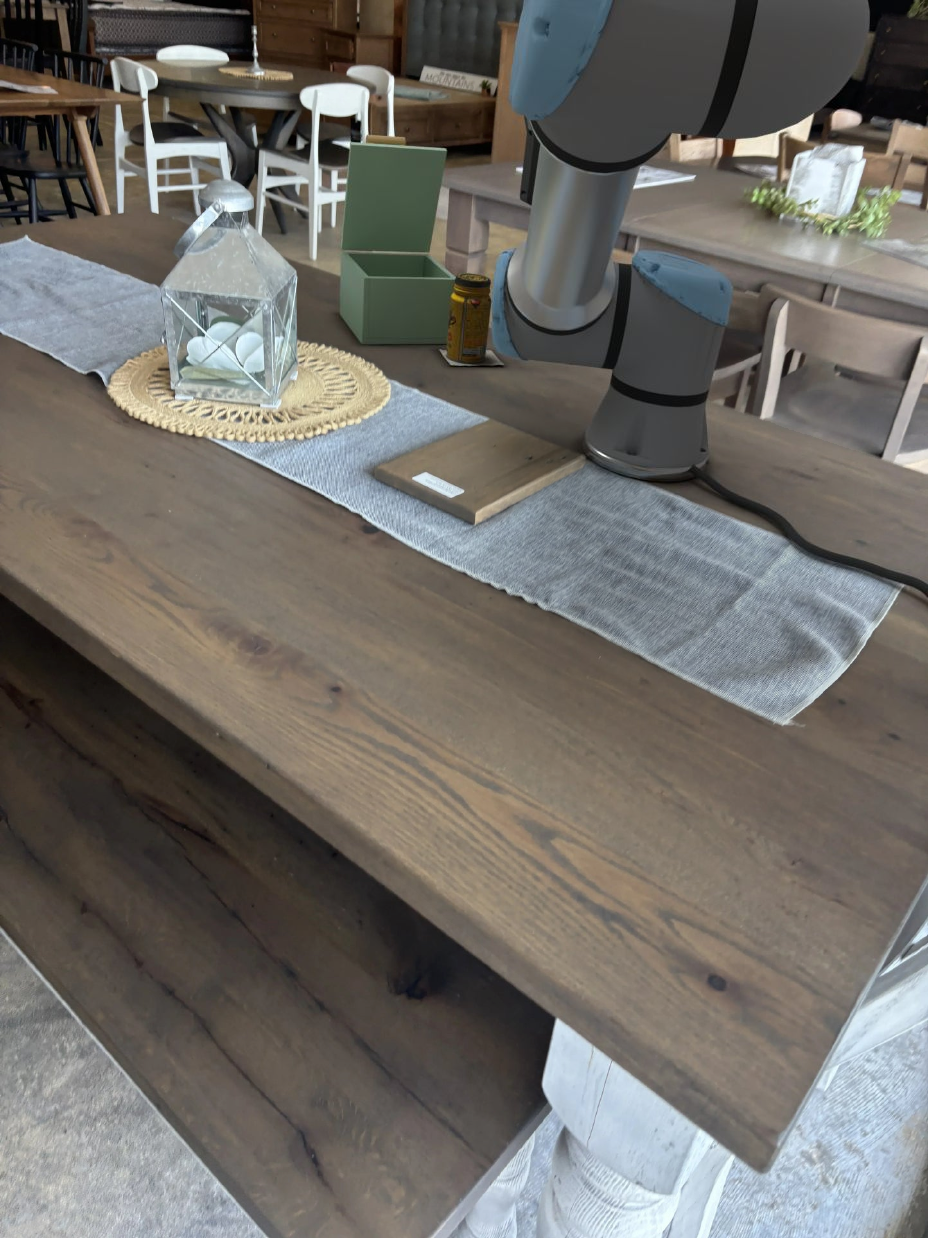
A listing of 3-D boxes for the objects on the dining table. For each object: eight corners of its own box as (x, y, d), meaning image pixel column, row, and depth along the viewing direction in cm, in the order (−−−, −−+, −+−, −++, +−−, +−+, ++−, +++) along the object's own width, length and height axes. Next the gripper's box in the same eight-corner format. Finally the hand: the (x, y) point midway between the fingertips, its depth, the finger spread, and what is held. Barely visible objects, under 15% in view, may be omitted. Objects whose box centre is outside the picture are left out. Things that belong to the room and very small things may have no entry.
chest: (453, 343, 144) (458, 279, 138) (361, 344, 139) (364, 277, 134) (424, 314, 156) (428, 254, 150) (339, 314, 151) (340, 251, 146)
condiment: (438, 350, 140) (445, 269, 134) (490, 351, 142) (499, 271, 136) (450, 366, 134) (457, 283, 128) (504, 366, 137) (514, 285, 130)
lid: (447, 150, 137) (432, 123, 142) (351, 144, 133) (339, 116, 138) (429, 252, 150) (416, 224, 155) (341, 250, 145) (330, 221, 150)
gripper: (641, 58, 109) (605, 260, 122) (506, 43, 104) (483, 256, 117) (672, 62, 104) (631, 274, 117) (531, 47, 98) (504, 271, 111)
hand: (557, 265), depth 117 cm, fingers closed on electronic device, 5 cm apart
